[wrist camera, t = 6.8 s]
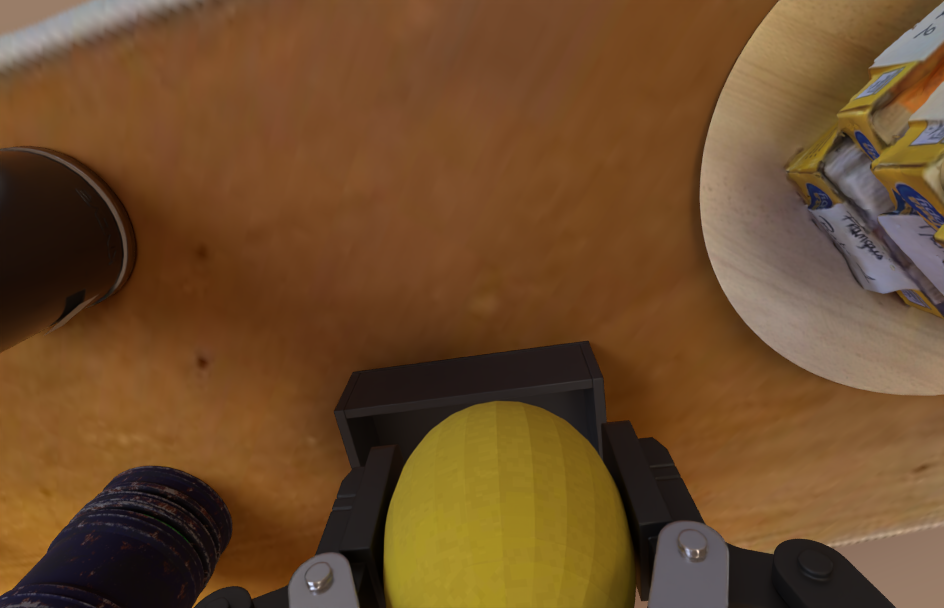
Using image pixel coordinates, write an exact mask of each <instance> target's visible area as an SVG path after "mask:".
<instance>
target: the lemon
mask: <svg viewBox="0 0 944 608" xmlns="http://www.w3.org/2000/svg"><path fill="white" fill-rule="evenodd" d="M383 584H384V597H385V604H386V608H634V604H635V592H636V568H635V557H634V548H633V543H632V537H631V533H630V529H629V524H628V520H627V516H626V512H625V508H624V504H623V501H622V498H621V495H620V493H619V490H618V487H617V485H616V483H615V481H614V479H613V477H612V476H611V474H610V473H609V471H608V469H607V468H606V466H605V464H604V463H603V461H602V459H601V458H600V456H599V455H598V453H597V451H596V450H595V448H594V447H593V446H592V445H591V443H590V442H589V441H588V440H587V439H586V438H585V437H584V436H583V435H581V434H580V433H579V432H578V431H577V430H576V429H575V428H574V427H573V426H572V425H571V424H569V423H568V422H567V421H566V420H564V419H562V418H560V417H558V416H556V415H555V414H553V413H551V412H549V411H547V410H545V409H543V408H540V407H537V406H533V405H529V404H525V403H522V402H513V401H493V402H487V403H481V404H476V405H473V406H470V407H468V408H466V409H463V410H461V411H459V412H456V413H454V414H452V415H450V416H449V417H448V418H446V419H445V420H444V421H442V422H441V423H439V424H438V425H437V426H435V427H434V428H433V429H432V430H431V431H430V432H429V433H428V434H427V435H426V436H425V437H424V438H423V440H422V441H421V442H420V444H419V445H418V446H417V447H416V449H415V450H414V451H413V453H412V454H411V455H410V457H409V458H408V460H407V462H406V464H405V466H404V468H403V470H402V473H401V475H400V478H399V480H398V483H397V486H396V488H395V491H394V493H393V496H392V499H391V501H390V505H389V509H388V513H387V518H386V525H385V536H384V555H383Z"/></svg>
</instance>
